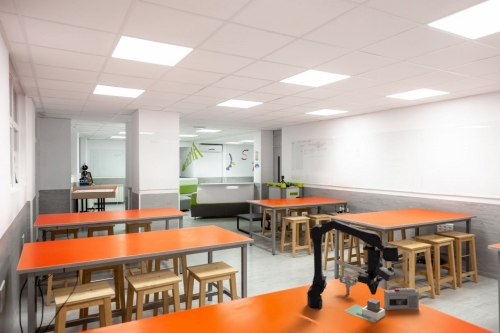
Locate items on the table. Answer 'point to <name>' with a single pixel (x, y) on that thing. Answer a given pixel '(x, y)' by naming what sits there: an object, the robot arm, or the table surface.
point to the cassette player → (401, 299)
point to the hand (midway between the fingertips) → (373, 294)
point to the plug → (373, 305)
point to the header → (373, 313)
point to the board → (360, 313)
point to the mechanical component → (348, 282)
